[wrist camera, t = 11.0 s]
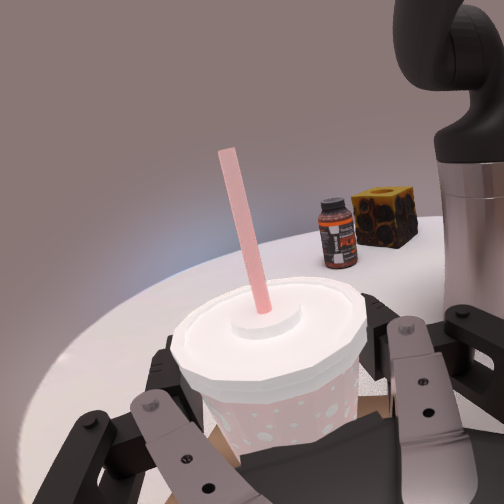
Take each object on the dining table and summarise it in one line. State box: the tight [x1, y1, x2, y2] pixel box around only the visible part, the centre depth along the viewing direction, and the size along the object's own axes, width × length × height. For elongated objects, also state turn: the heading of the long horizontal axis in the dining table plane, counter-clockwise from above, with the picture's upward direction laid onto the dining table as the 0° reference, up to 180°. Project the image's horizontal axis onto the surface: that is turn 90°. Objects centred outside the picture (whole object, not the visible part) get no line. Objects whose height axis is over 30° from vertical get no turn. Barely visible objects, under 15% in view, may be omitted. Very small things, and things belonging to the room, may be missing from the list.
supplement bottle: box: [318, 198, 358, 268], centre depth 52 cm, size 6×6×11 cm
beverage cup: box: [170, 148, 367, 464], centre depth 10 cm, size 6×6×14 cm
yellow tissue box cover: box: [351, 187, 418, 248], centre depth 58 cm, size 10×10×10 cm
